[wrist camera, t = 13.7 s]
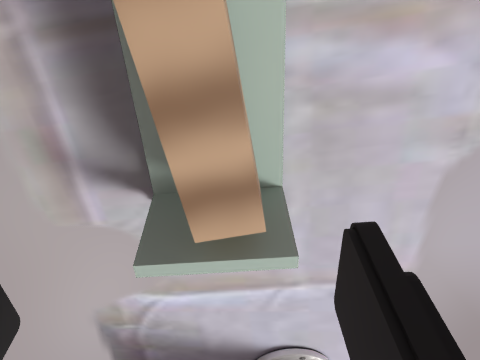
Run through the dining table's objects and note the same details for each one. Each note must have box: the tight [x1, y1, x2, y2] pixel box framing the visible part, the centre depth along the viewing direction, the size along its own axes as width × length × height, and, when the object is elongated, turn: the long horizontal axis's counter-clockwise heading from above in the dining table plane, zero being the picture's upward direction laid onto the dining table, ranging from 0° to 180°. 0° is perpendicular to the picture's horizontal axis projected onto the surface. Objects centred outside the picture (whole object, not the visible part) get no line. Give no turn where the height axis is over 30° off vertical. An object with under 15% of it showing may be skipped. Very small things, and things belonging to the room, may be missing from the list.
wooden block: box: [113, 0, 266, 243], centre depth 22 cm, size 20×5×6 cm, turn 10°
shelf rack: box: [111, 0, 299, 278], centre depth 24 cm, size 28×12×10 cm, turn 3°
